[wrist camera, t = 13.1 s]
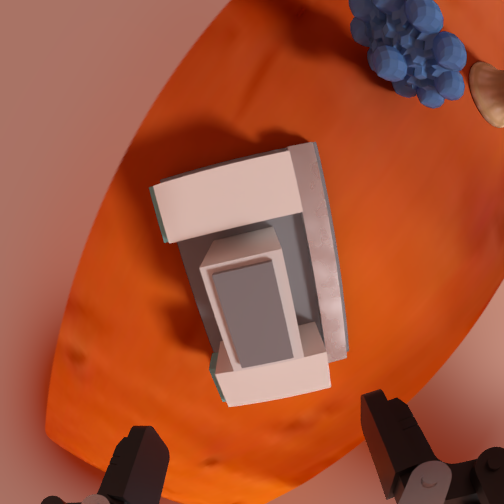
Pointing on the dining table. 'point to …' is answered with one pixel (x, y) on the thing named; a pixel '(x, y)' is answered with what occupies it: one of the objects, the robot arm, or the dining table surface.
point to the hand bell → (488, 92)
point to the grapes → (410, 48)
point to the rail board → (294, 252)
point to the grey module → (252, 299)
